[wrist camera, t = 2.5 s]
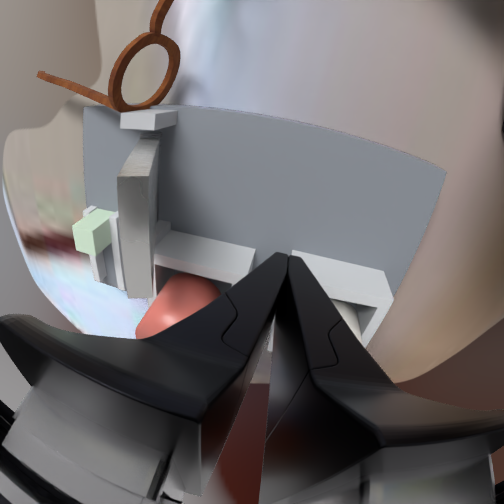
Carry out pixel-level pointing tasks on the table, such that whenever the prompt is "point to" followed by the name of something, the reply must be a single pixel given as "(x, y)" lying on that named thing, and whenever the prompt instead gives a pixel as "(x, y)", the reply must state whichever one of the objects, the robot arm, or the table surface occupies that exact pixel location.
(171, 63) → the glasses
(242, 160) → the panel
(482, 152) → the table surface
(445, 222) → the table surface
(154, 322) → the button red
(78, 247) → the slider knob
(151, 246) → the grey rectangular slab
